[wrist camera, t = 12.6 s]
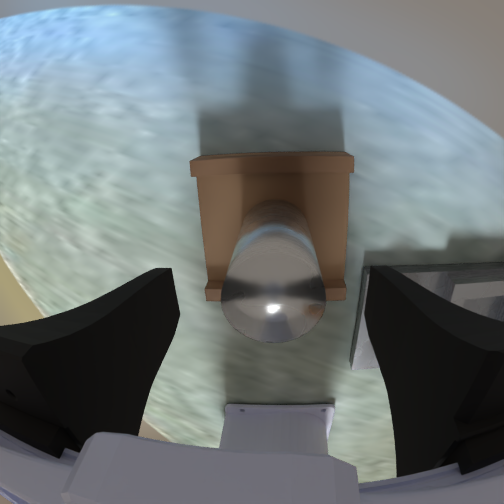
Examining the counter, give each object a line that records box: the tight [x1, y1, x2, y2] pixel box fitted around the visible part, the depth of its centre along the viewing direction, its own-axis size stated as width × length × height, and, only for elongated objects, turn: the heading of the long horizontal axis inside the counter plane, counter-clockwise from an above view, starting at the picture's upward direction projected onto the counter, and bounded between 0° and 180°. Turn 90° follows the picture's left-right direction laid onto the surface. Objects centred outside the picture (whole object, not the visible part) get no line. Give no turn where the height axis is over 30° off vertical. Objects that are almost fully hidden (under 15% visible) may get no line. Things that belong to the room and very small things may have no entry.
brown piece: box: [190, 152, 354, 301], centre depth 17 cm, size 8×8×2 cm
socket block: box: [350, 262, 504, 370], centre depth 19 cm, size 14×8×2 cm, turn 93°
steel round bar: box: [221, 199, 326, 343], centre depth 14 cm, size 4×4×7 cm
